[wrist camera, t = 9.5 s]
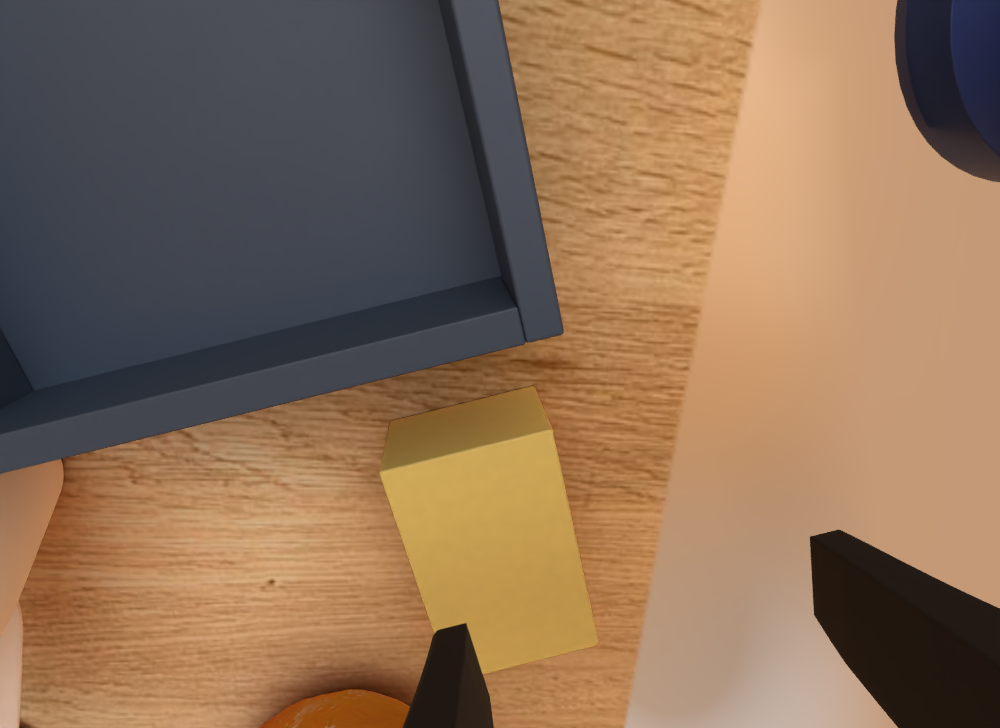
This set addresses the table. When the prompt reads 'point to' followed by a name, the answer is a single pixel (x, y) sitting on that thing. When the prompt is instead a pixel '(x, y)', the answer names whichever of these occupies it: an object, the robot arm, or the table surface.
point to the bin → (251, 208)
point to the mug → (20, 565)
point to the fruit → (343, 711)
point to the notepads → (490, 527)
